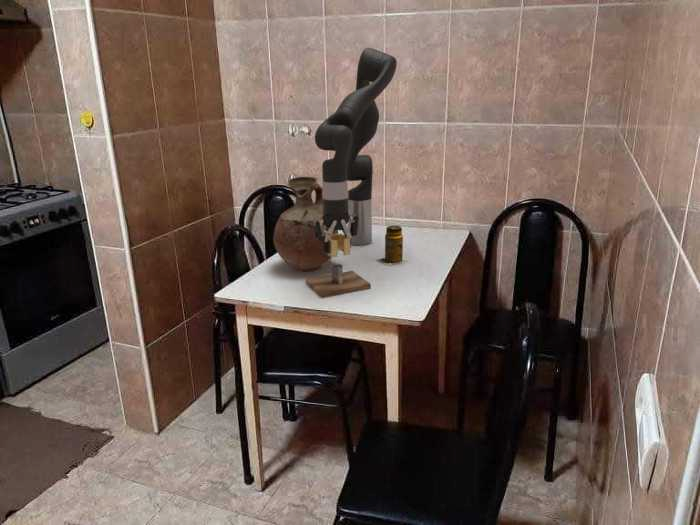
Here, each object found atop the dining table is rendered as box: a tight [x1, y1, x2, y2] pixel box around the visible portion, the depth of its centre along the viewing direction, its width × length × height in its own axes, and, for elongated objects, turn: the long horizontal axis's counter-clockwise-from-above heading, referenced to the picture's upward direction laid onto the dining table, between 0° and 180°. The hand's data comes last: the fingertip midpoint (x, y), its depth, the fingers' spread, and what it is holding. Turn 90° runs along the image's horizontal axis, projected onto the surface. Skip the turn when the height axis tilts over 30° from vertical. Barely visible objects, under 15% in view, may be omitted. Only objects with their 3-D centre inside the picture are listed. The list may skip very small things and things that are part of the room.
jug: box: [272, 175, 339, 273], centre depth 175 cm, size 22×22×30 cm
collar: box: [327, 233, 351, 259], centre depth 159 cm, size 6×6×5 cm
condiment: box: [376, 225, 408, 267], centre depth 183 cm, size 7×8×12 cm
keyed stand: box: [305, 263, 372, 299], centre depth 162 cm, size 13×16×6 cm
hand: (336, 251), depth 159 cm, fingers closed on collar, 6 cm apart
